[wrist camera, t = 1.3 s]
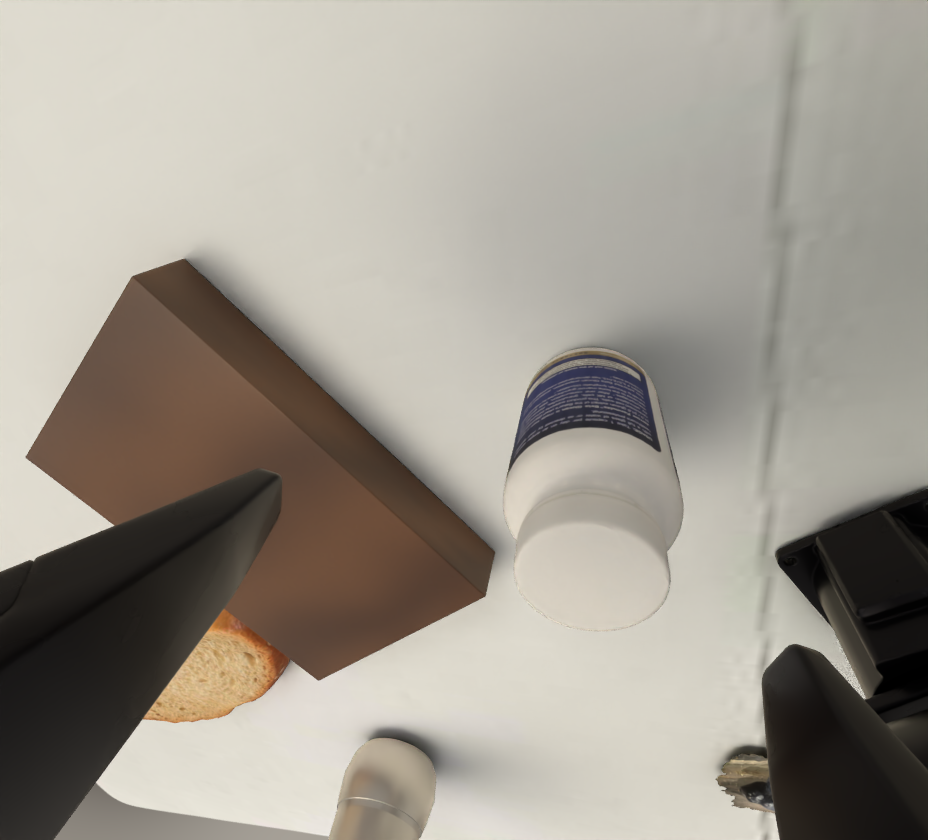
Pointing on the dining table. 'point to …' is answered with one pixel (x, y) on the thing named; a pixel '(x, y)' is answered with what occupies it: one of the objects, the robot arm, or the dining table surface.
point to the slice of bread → (220, 674)
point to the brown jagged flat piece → (748, 782)
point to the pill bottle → (592, 493)
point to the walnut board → (251, 447)
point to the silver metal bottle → (385, 793)
